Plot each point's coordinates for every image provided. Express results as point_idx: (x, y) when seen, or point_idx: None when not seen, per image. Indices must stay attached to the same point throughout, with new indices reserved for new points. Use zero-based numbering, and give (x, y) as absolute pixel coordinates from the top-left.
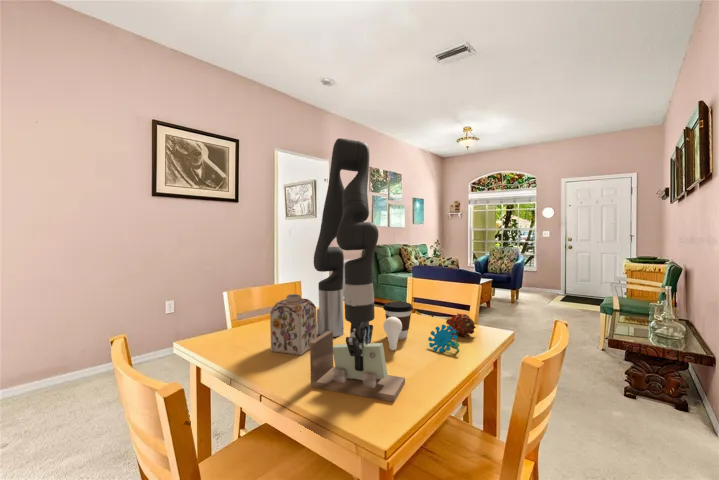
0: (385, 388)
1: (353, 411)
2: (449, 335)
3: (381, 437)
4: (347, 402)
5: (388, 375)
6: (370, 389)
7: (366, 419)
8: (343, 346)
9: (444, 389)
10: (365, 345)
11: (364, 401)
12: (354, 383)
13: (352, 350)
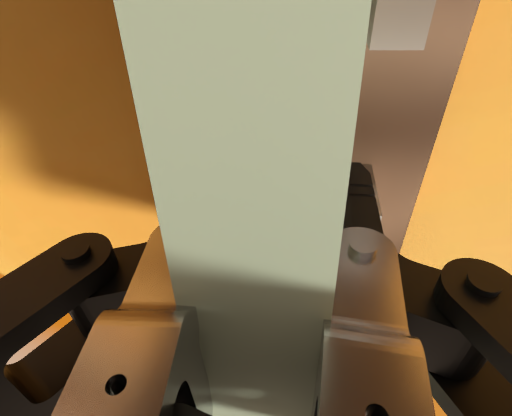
0: None
1: (49, 154)
2: None
3: (11, 261)
4: (88, 101)
5: (396, 244)
6: None
7: (45, 211)
8: (183, 93)
9: None
10: (240, 407)
11: (147, 171)
12: None
13: (58, 304)
